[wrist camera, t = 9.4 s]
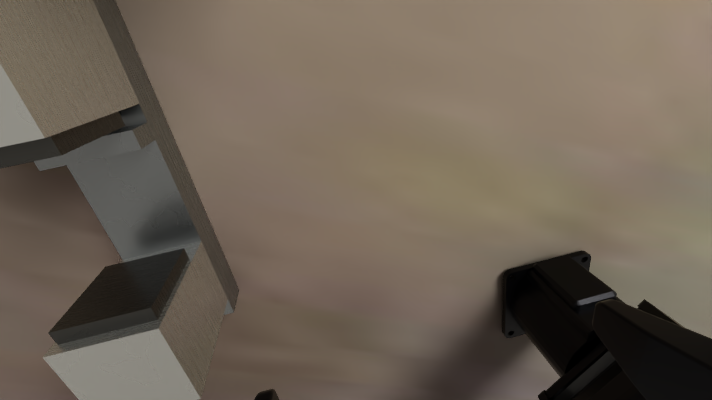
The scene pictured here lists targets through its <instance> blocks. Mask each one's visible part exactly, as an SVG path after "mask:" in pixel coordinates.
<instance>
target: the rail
mask: <svg viewBox="0 0 712 400" xmlns="http://www.w3.org/2000/svg"><path fill="white" fill-rule="evenodd" d="M93 1H94V4H95V6H96V8H97V10H98V12H99V15H100V17H101V19H102V21H103V23H104V26H105V28H106V30H107V32H108V34H109V37H110V39H111V41H112V43H113V46H114V48H115V50H116V52H117V54H118V57H119V59H120V61H121V63H122V65H123V68H124V70H125V72H126V74H127V77H128V79H129V81H130V83H131V85H132V88H133V90H134V92H135V94H136V96H137V99H138V101H139V103H140V104H137V105H134V106H132V107H129V108H126V109H123V110H121V111H119V113H120V115H121V118H122V120H123V122H124V124H125V126H124V127H122V128H120V129H118V130H115V131H113V132H111V133H109V134H107V135H105V136H102V137H100V138H98V139H96V140H94V141H92V142H90V143H87V144H85V145H83V146H81V147H79V148H77V149H74V150H72V151H70V152H68V153H66V154H64V155H61V156H57V157H52V158H47V159H43V160H38V161H34V163H35V165H36V166H37V168H38V169H39V171H42V170H47V169H51V168H56V167H61V166H65V165H67V167H68V169H69V170H70V172H71V174H72V175H73V177H74V179H75V180H76V182H77V184H78V185H79V187H80V189H81V191H82V192H83V194H84V196H85V197H86V199H87V201H88V202H89V204H90V206H91V207H92V209H93V211H94V212H95V214H96V216H97V217H98V219H99V221H100V222H101V224H102V226H103V227H104V229H105V231H106V233H107V234H108V236H109V238H110V239H111V241H112V243H113V244H114V246H115V248H116V249H117V251H118V253H119V254H120V256H121V258H122V259H123V260H122V261H121V262H120V263H119V264H115V265H111V266H107V267H105V268H104V269H103V270H102V272H101V273H100V274H99V275H98V276H97V277H96V278H95V280H94V281H93V282H92V283H91V284H90V285H89V287H88V288H87V289H86V290H85V291H84V292H83V293H82V295H81V296H80V297H79V298H78V299H77V300H76V302H75V303H74V304H73V305H72V306H71V307H70V308H69V310H68V311H67V312H66V313H65V314H64V315H63V317H62V318H61V319H60V320H59V321H58V322H57V323H56V325H55V326H54V327H53V328H52V329H51V330H50V332H49V335H50V336H51V337H52V338H53V340H54V341H55V343H54V344H53V346H52V347H51V348H50V349H49V351H48V352H47V353H46V354H45V355H44V357H43V359H44V360H45V361H46V362H47V363H48V364H49V366H50V367H51V368H52V369H53V370H54V371H55V373H56V374H57V375H58V376H59V377H60V378H61V380H62V381H63V382H64V383H65V384H66V385H67V387H68V388H69V389H70V390H71V391H72V392H73V394H74V395H75V396H76V397H77V398H78V399H79V400H198V399H201V396H202V393H203V389H204V385H205V382H206V378H207V374H208V371H209V367H210V363H211V360H212V356H213V352H214V349H215V345H216V341H217V338H218V334H219V330H220V327H221V323H222V319H223V316H224V315H225V314H229V313H233V312H234V309H235V305H236V301H237V297H238V292H239V289H238V286H237V284H236V282H235V279H234V277H233V275H232V272H231V270H230V268H229V265H228V263H227V261H226V258H225V256H224V254H223V251H222V249H221V247H220V244H219V242H218V240H217V237H216V235H215V233H214V230H213V228H212V226H211V223H210V221H209V219H208V216H207V214H206V212H205V209H204V207H203V205H202V202H201V200H200V198H199V195H198V193H197V191H196V188H195V186H194V184H193V181H192V179H191V177H190V174H189V172H188V170H187V167H186V165H185V163H184V160H183V158H182V156H181V153H180V151H179V149H178V146H177V144H176V142H175V139H174V137H173V135H172V132H171V130H170V128H169V125H168V123H167V121H166V118H165V116H164V114H163V111H162V109H161V107H160V104H159V102H158V100H157V97H156V95H155V93H154V90H153V88H152V86H151V83H150V81H149V79H148V77H147V74H146V72H145V70H144V67H143V65H142V63H141V60H140V58H139V56H138V53H137V51H136V49H135V46H134V44H133V42H132V39H131V37H130V35H129V32H128V30H127V28H126V25H125V23H124V21H123V18H122V16H121V14H120V11H119V9H118V7H117V4H116V2H115V0H93Z"/></svg>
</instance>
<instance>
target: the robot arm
mask: <svg viewBox="0 0 712 400" xmlns="http://www.w3.org/2000/svg"><path fill="white" fill-rule="evenodd" d="M590 261H591V256H590V254H588V253H587V252H585V251H579V252H575V253H571V254H567V255H563V256H560V257H556V258H552V259H548V260H544V261H540V262H536V263H532V264H528V265H525V266H521V267H517V268H513V269H509V270H507V271H506V272H505V273H504V275H503V315H502V332H503V334H504V335H505V336H506V337H507V338H512V337H515V336H519V335H523V334H526V335H527V336H528V337H529V339H530V340H531V341H532V342H533V344H534V345H535V346H536V347H537V349H538V350H539V351H540V352H541V354H542V355H543V356H544V357H545V359H546V360H547V361H548V362H549V364H550V365H551V366H552V367H553V369H554V370H555V371H556V372H557V374H558V375H559V376H560V377H561V378H560V379H558V380H557V381H556V382H555V383H554V384H553V385H552V386H551V387H550V388H548V389H547V390H546V391H545V390H544V391H542V392H541V393H540V394H539V395H538V398H539V400H712V339H711V338H708V337H706V336H703V335H701V334H699V333H696V332H694V331H691V330H689V329H686V328H684V327H683V326H682V325H680V324H679V323H677V322H676V321H675V320H673V319H672V318H670V317H669V316H667V315H666V314H665V313H663V312H662V311H660V310H659V309H657V308H656V307H655V306H653V305H652V304H650V303H649V302H648V301H646V300H645V299H644V300H643V301H642V302H641V303H640V304H639V305H638V308H634V307H632V306H629V305H627V304H625V303H624V302H623V301H622V300H620V299H619V298H618V297H616V295H617V293H616V292H615V291H614V290H612V289H611V288H610V287H608V286H607V285H606V284H605V283H603V282H602V281H601V280H599V279H598V278H597V277H596V276H594V275H593V274H592V273H590V272H589V267H590ZM511 276H512V277H511ZM254 400H279V398H278V396H277V393H276V391H275V390H274V389H270V390H266V391H262V392H260V393H258V394H257V396H256V397H255V399H254Z"/></svg>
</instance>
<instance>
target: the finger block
mask: <svg viewBox="0 0 712 400" xmlns="http://www.w3.org/2000/svg"><path fill="white" fill-rule="evenodd" d="M137 104H140V103H139V101H138V99H137V96H136V94H135V92H134V90H133V88H132V85H131V83H130V81H129V79H128V77H127V74H126V72H125V70H124V68H123V65H122V63H121V61H120V59H119V57H118V54H117V52H116V50H115V48H114V46H113V43H112V41H111V39H110V37H109V34H108V32H107V30H106V28H105V26H104V23H103V21H102V19H101V17H100V15H99V12H98V10H97V8H96V6H95V4H94V1H93V0H0V168H5V167H9V166H14V165H19V164H24V163H28V162H33V161H38V160H43V159H47V158H52V157H57V156H61V155H64V154H66V153H68V152H70V151H72V150H74V149H77V148H79V147H81V146H83V145H85V144H87V143H90V142H92V141H94V140H96V139H98V138H100V137H102V136H105V135H107V134H109V133H111V132H113V131H115V130H118V129H120V128H122V127H124V126H125V124H124V122H123V120H122V118H121V115H120V113H119V111H121V110H123V109H126V108H129V107H132V106H134V105H137Z"/></svg>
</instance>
